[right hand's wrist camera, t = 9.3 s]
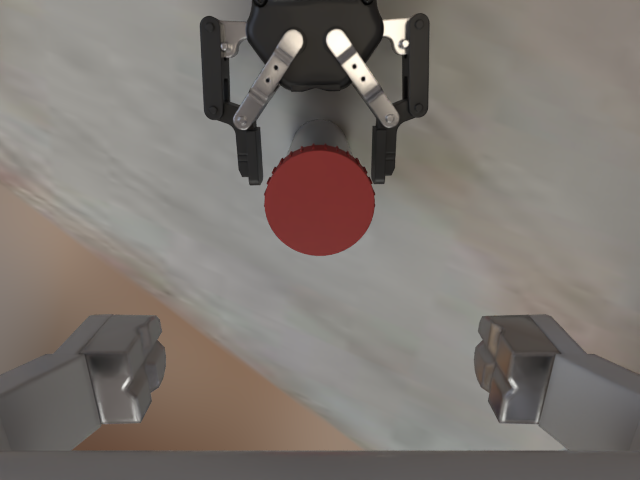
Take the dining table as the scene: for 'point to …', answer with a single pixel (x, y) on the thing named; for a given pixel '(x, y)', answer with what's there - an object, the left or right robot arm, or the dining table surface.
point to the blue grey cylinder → (319, 136)
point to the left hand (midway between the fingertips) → (317, 182)
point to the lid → (319, 200)
